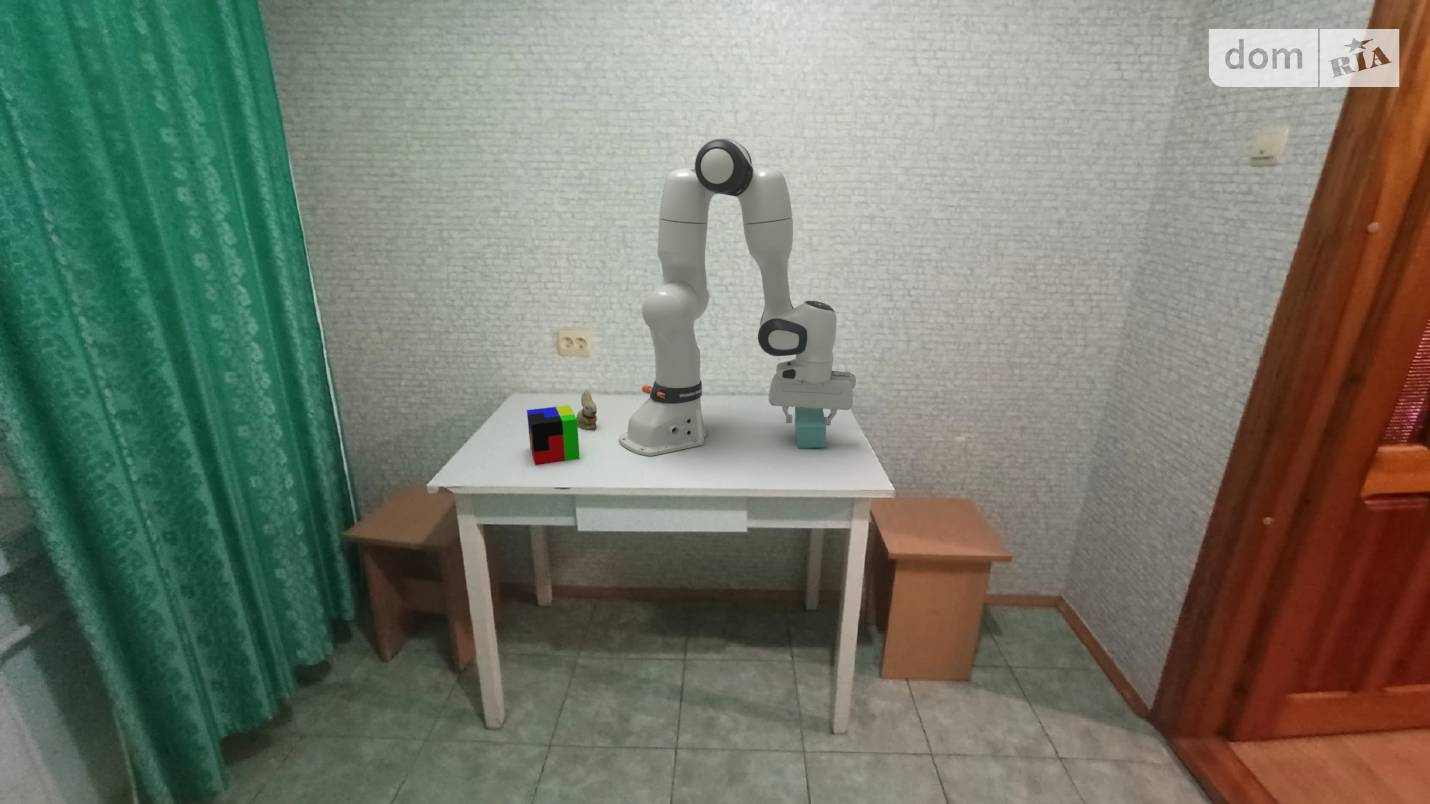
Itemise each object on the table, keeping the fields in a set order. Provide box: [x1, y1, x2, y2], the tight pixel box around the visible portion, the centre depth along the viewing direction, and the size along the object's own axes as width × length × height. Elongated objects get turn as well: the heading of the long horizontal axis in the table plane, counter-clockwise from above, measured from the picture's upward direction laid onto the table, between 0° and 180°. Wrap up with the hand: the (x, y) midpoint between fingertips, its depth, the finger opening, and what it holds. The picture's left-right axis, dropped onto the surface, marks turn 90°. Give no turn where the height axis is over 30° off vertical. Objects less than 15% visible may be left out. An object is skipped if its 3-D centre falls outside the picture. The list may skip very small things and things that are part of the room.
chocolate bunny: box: [576, 389, 598, 431], centre depth 165 cm, size 6×8×10 cm
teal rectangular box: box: [794, 407, 827, 449], centre depth 157 cm, size 10×7×6 cm, turn 177°
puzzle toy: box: [526, 404, 581, 466], centre depth 148 cm, size 10×10×10 cm
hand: (807, 423), depth 155 cm, fingers open, 8 cm apart
